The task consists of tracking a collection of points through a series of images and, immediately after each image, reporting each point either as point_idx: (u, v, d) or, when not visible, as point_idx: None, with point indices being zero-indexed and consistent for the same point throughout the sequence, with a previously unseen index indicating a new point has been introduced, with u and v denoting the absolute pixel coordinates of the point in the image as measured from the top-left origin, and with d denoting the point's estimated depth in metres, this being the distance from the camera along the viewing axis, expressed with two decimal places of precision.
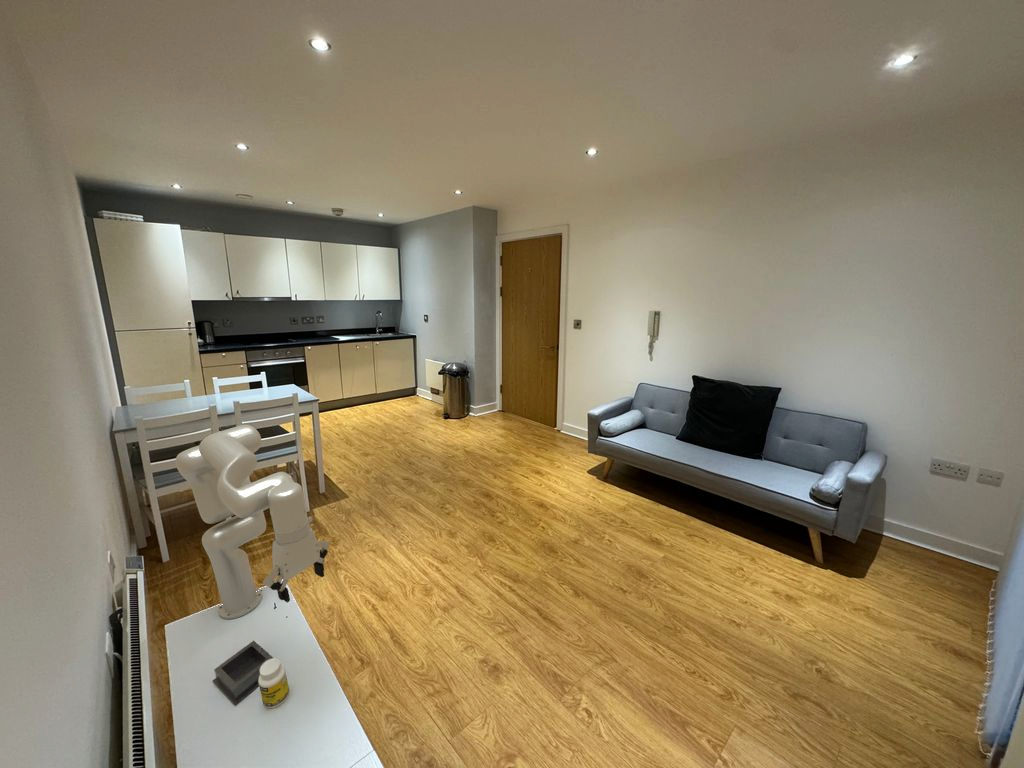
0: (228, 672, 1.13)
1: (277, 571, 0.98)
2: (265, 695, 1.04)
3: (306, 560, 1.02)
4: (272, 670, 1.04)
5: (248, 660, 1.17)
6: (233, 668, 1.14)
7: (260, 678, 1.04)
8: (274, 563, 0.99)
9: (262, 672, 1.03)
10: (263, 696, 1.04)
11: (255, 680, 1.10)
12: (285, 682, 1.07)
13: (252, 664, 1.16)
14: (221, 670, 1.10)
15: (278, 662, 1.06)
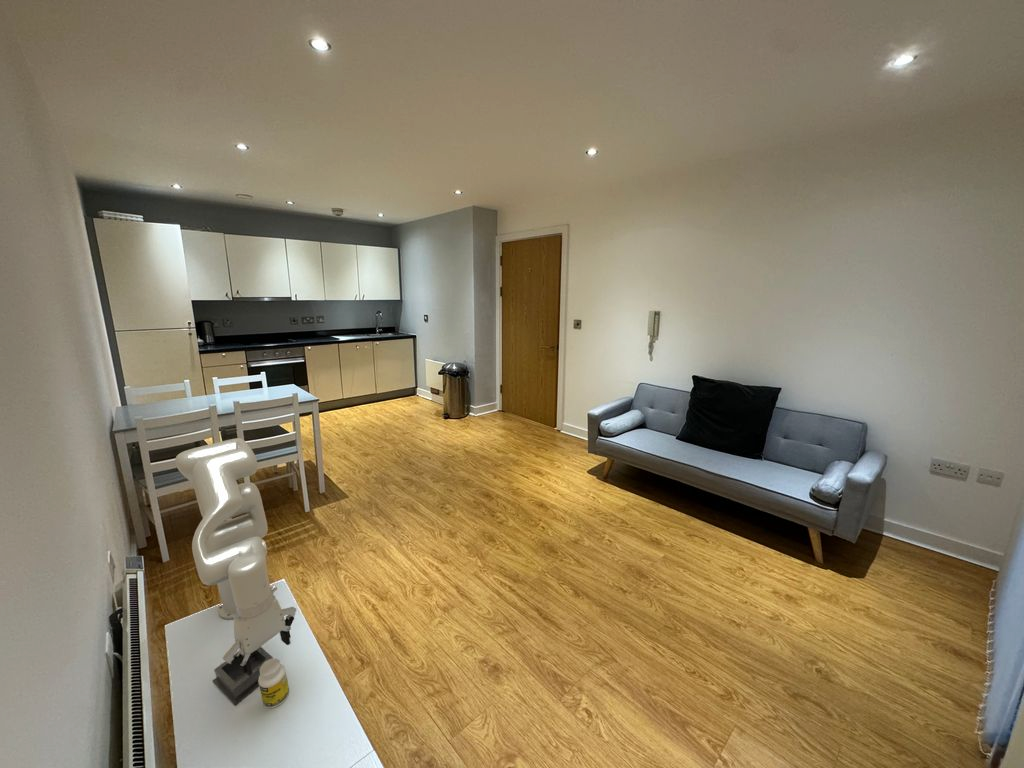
0: (228, 672, 1.13)
1: (238, 645, 0.96)
2: (265, 695, 1.04)
3: (269, 631, 1.00)
4: (272, 670, 1.04)
5: (248, 660, 1.17)
6: (233, 668, 1.14)
7: (260, 678, 1.04)
8: (235, 637, 0.97)
9: (262, 672, 1.03)
10: (263, 696, 1.04)
11: (255, 680, 1.10)
12: (285, 682, 1.07)
13: (252, 664, 1.16)
14: (221, 670, 1.10)
15: (278, 662, 1.06)
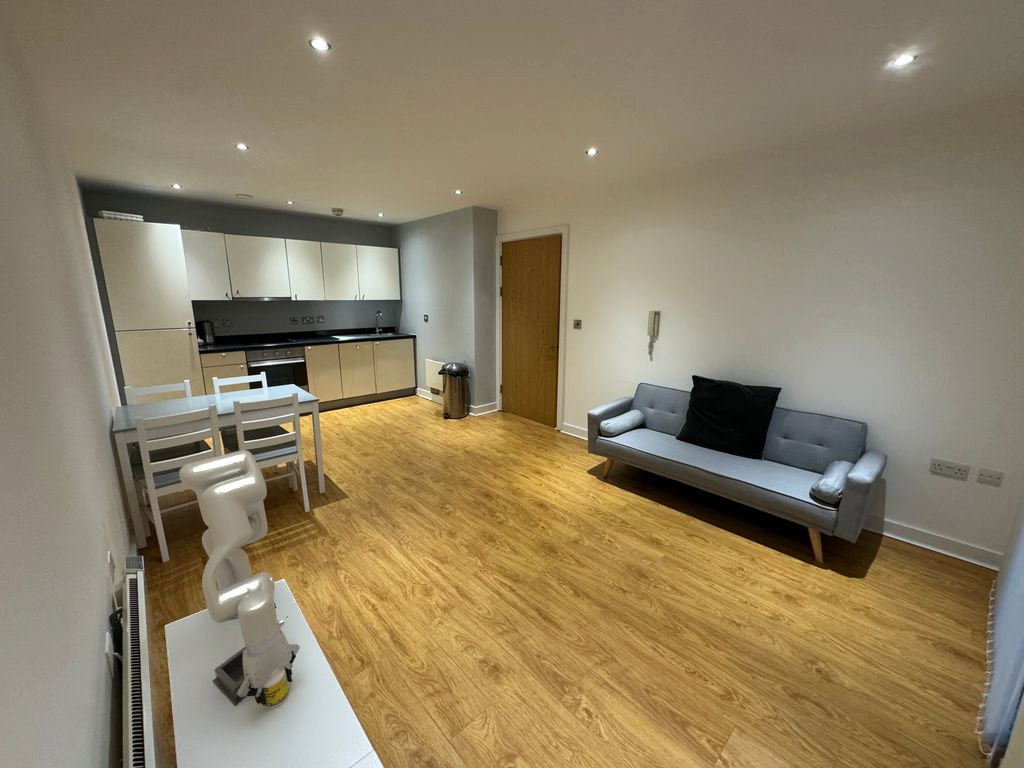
0: (228, 672, 1.13)
1: (249, 681, 1.00)
2: (265, 695, 1.04)
3: (277, 665, 1.04)
4: None
5: None
6: (233, 668, 1.14)
7: None
8: (244, 671, 1.00)
9: None
10: None
11: None
12: (285, 682, 1.07)
13: None
14: (221, 670, 1.10)
15: None
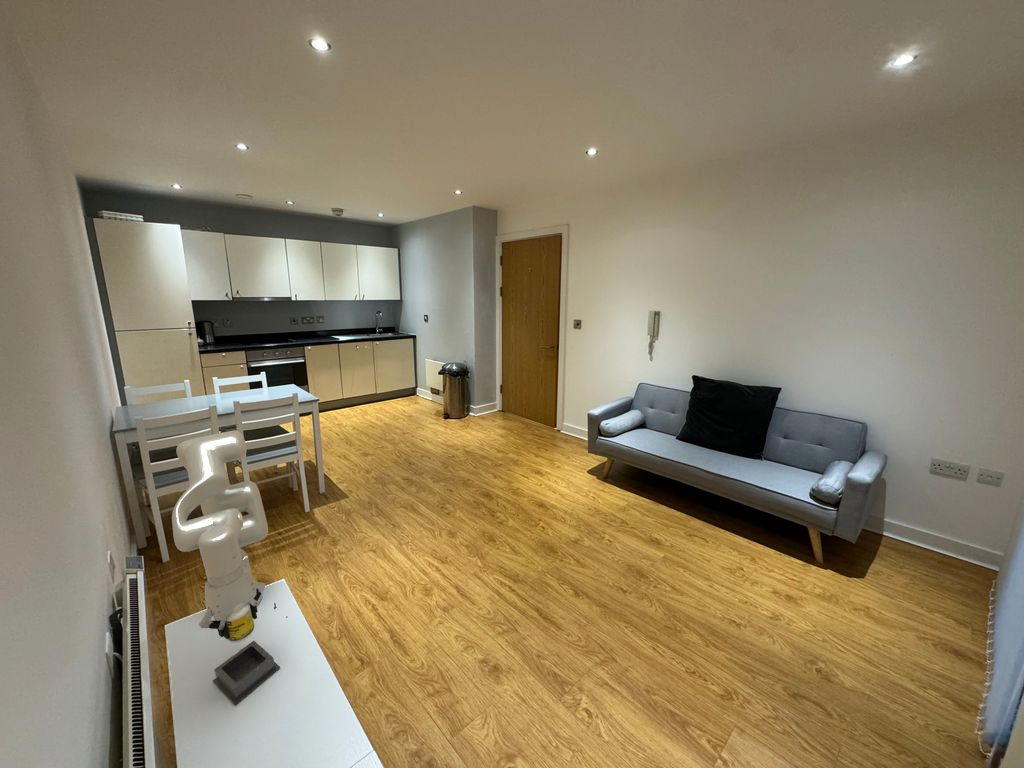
0: (228, 672, 1.13)
1: (211, 613, 1.00)
2: (228, 629, 1.04)
3: (240, 599, 1.04)
4: None
5: (248, 660, 1.17)
6: (233, 668, 1.14)
7: None
8: (206, 604, 1.00)
9: None
10: None
11: (255, 680, 1.10)
12: (249, 618, 1.07)
13: (252, 664, 1.16)
14: (221, 670, 1.10)
15: None
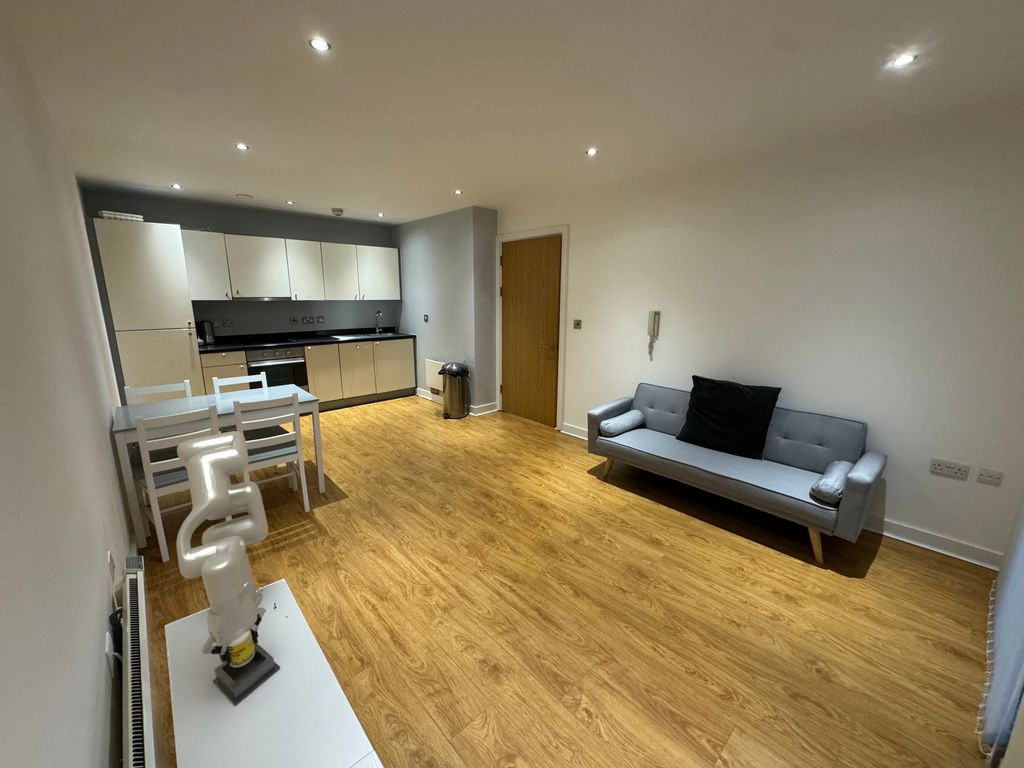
0: (228, 672, 1.13)
1: (213, 639, 1.04)
2: (230, 654, 1.07)
3: (241, 625, 1.08)
4: None
5: None
6: (233, 668, 1.14)
7: None
8: (209, 630, 1.04)
9: None
10: None
11: (255, 680, 1.10)
12: (250, 643, 1.10)
13: (252, 664, 1.16)
14: (221, 670, 1.10)
15: None
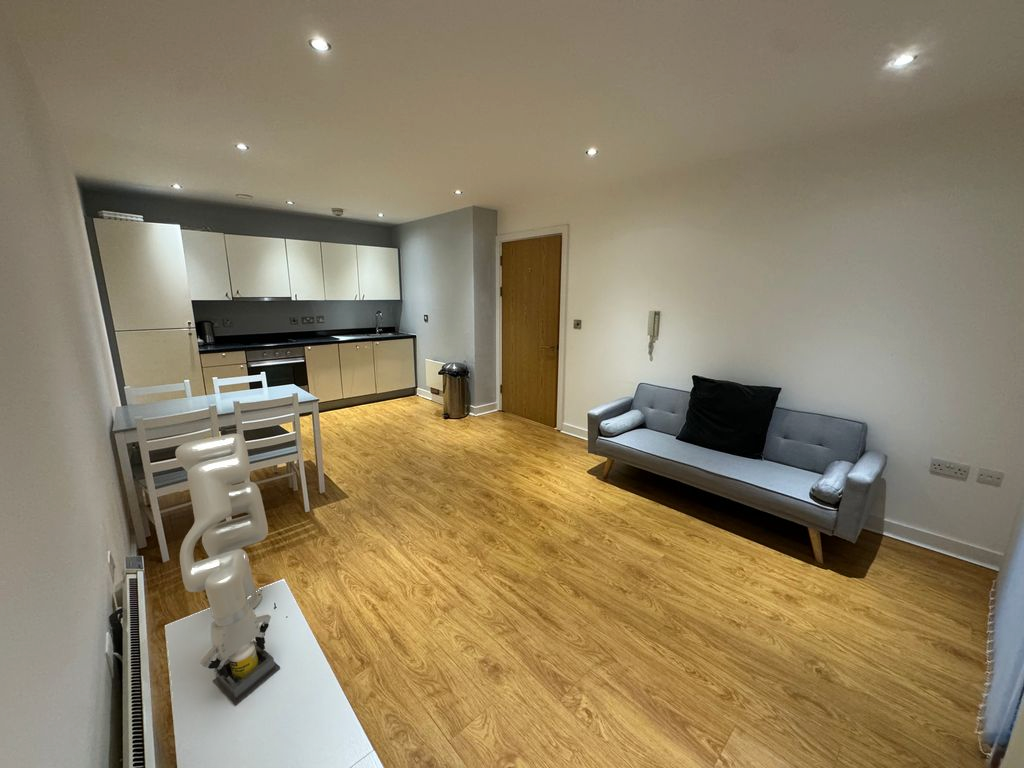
0: (228, 672, 1.13)
1: (215, 651, 1.04)
2: (234, 669, 1.09)
3: (244, 638, 1.09)
4: None
5: None
6: None
7: None
8: (212, 643, 1.05)
9: None
10: (233, 670, 1.10)
11: (255, 680, 1.10)
12: (254, 658, 1.12)
13: None
14: None
15: None
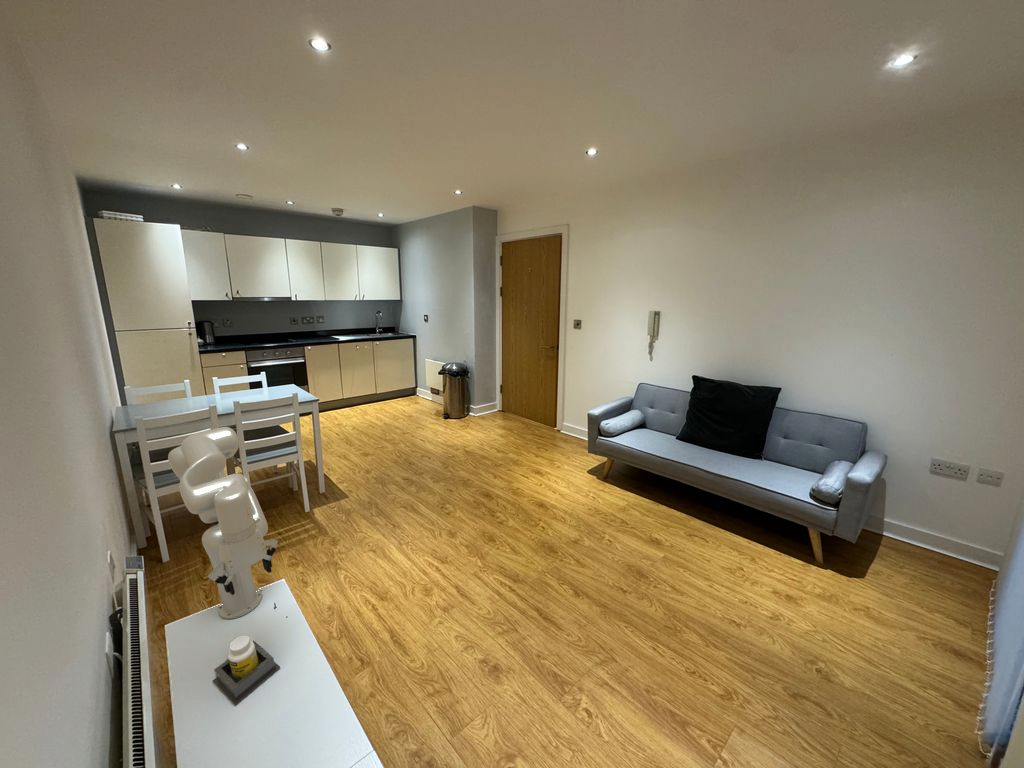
0: (228, 672, 1.13)
1: (222, 567, 1.06)
2: (234, 669, 1.09)
3: (251, 557, 1.11)
4: (242, 646, 1.09)
5: None
6: None
7: (230, 653, 1.10)
8: (220, 559, 1.07)
9: (232, 647, 1.09)
10: (233, 670, 1.10)
11: (255, 680, 1.10)
12: (254, 658, 1.12)
13: None
14: (221, 670, 1.10)
15: (248, 639, 1.11)
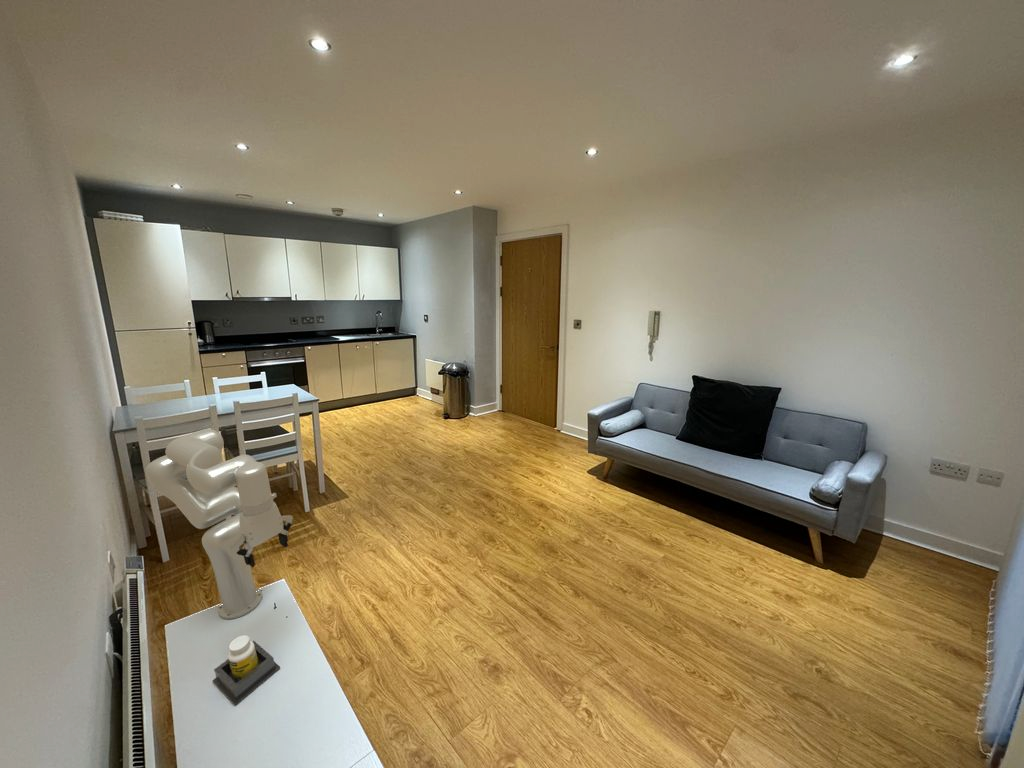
0: (228, 672, 1.13)
1: (243, 539, 1.12)
2: (234, 669, 1.09)
3: (270, 531, 1.17)
4: (241, 646, 1.09)
5: None
6: None
7: (230, 653, 1.10)
8: (241, 532, 1.13)
9: (231, 647, 1.09)
10: (232, 670, 1.10)
11: (255, 680, 1.10)
12: (254, 658, 1.12)
13: None
14: (221, 670, 1.10)
15: (247, 639, 1.11)
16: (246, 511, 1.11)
